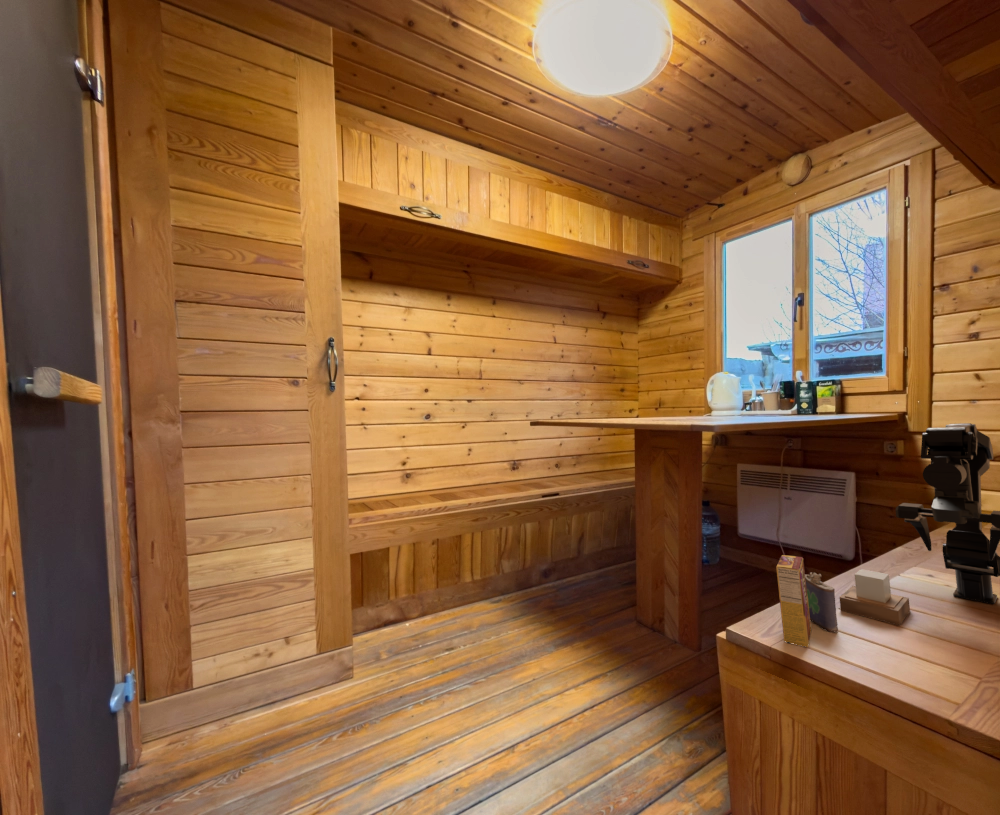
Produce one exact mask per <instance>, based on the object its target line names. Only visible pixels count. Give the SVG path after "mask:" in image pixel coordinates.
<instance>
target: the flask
mask: <svg viewBox="0 0 1000 815" xmlns="http://www.w3.org/2000/svg"><path fill="white" fill-rule="evenodd" d="M821 578H822V574H821V573H818V574H817V573H816V572H809V574H805V579H806V588H807V596H808V605H809V614H810V622H812V623H813V624H814V625H816V626H817V627H819V628H821V629H822V630H824V631H826V632H828V633H832V634H833V633H838V632H839V627H838V618H837V608H836V596H835V588H834V587H833V586H830V585H828V584H826V583H824V582H823V581H821V580H822V579H821Z"/></svg>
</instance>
